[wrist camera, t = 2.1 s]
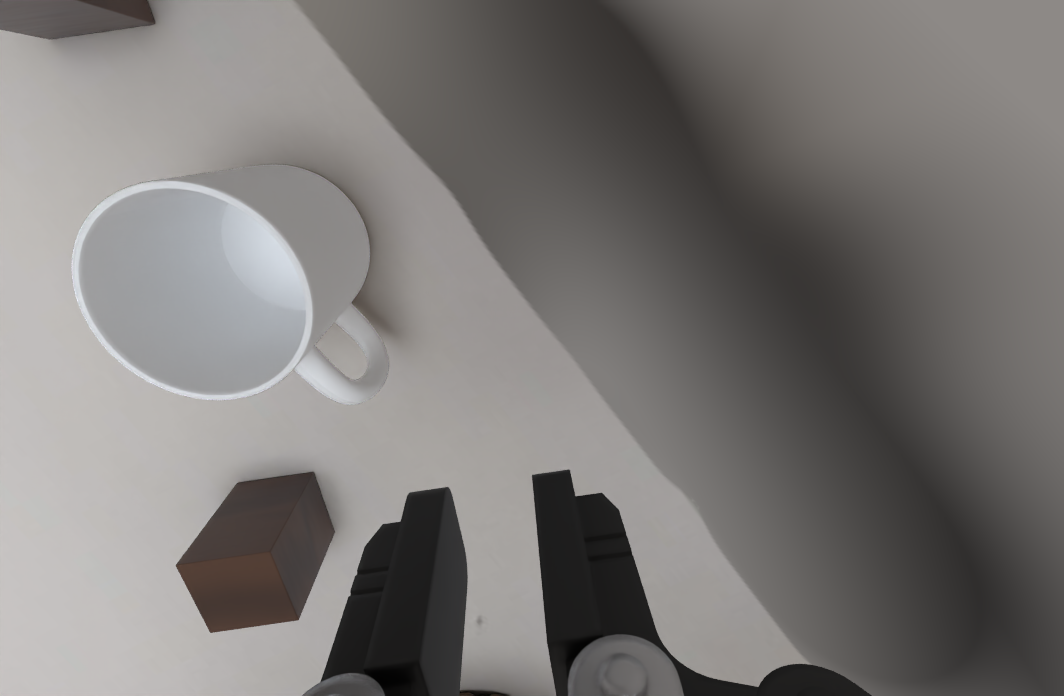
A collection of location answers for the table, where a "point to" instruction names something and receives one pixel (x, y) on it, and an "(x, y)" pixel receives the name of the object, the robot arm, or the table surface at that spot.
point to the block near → (72, 16)
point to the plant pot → (469, 695)
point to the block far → (259, 553)
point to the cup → (228, 282)
